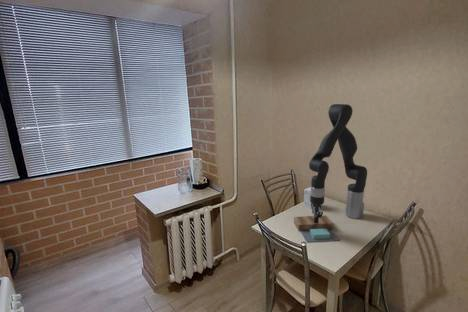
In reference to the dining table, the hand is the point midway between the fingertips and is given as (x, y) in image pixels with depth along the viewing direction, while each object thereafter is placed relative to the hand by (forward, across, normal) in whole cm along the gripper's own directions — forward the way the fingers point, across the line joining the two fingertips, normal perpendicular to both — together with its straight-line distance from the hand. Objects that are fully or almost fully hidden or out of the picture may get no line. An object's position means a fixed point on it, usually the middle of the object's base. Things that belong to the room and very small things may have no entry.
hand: (316, 222), depth 143 cm
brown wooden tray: (+5, +5, 0) cm, 7 cm away
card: (+2, -6, 0) cm, 7 cm away
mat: (+5, -6, 0) cm, 8 cm away
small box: (+5, +31, -8) cm, 32 cm away
